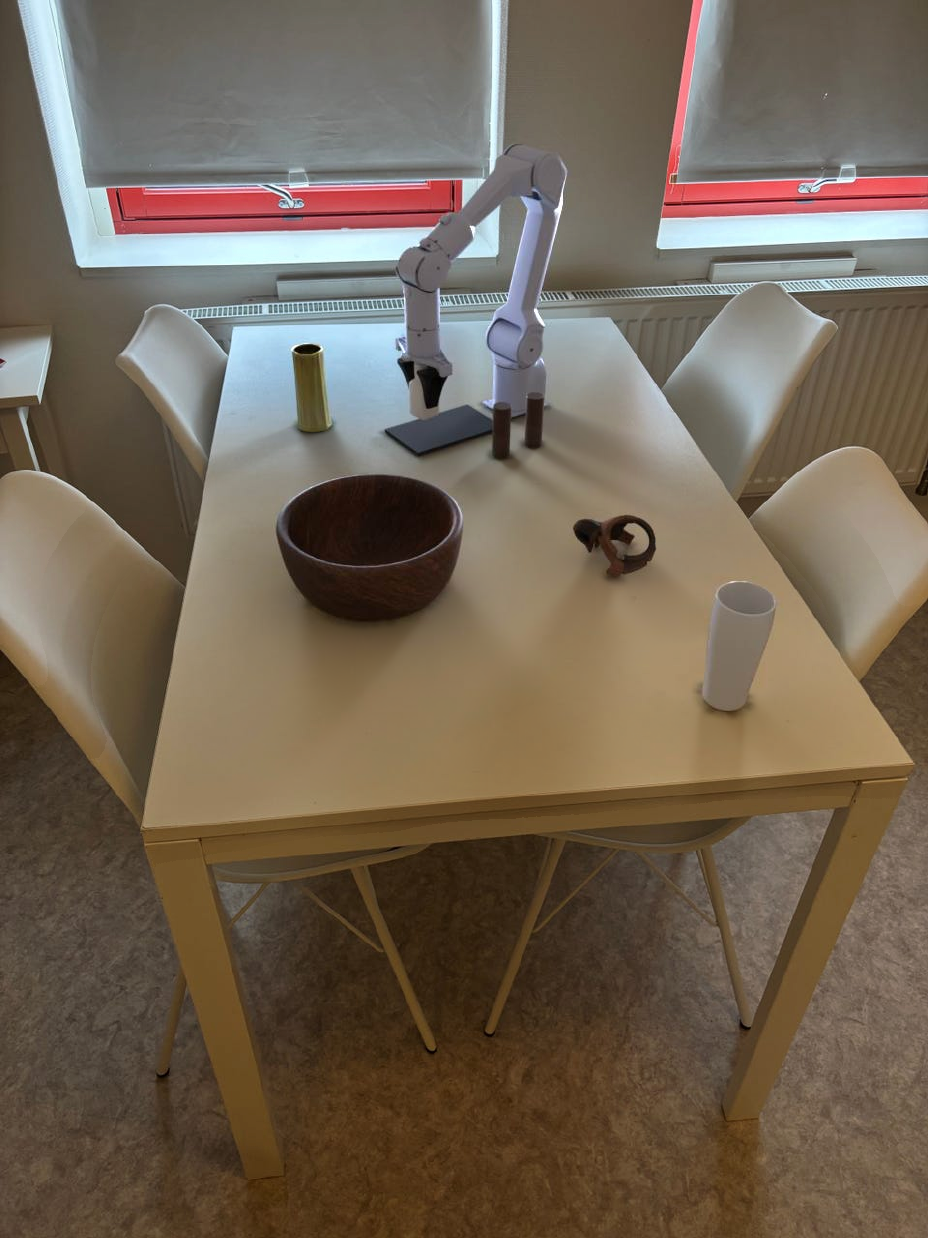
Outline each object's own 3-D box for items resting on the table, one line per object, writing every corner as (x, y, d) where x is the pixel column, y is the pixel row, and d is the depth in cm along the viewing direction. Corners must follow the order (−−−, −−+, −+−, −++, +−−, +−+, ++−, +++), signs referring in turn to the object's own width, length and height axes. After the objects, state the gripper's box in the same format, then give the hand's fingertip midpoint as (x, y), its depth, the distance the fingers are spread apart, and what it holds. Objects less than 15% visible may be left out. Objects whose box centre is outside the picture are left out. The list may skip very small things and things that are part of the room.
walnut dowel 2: (534, 438, 169) (536, 390, 164) (545, 444, 167) (548, 396, 162) (520, 442, 168) (523, 394, 162) (531, 449, 166) (533, 400, 160)
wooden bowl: (264, 554, 140) (255, 492, 133) (424, 519, 148) (423, 459, 141) (312, 655, 121) (304, 588, 115) (492, 608, 129) (494, 544, 123)
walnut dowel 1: (502, 448, 166) (504, 400, 161) (513, 455, 164) (514, 406, 159) (488, 453, 165) (489, 404, 159) (498, 460, 163) (500, 411, 157)
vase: (334, 418, 175) (328, 342, 166) (327, 433, 170) (320, 356, 162) (301, 416, 176) (293, 341, 167) (293, 431, 171) (285, 354, 162)
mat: (467, 407, 179) (467, 404, 179) (502, 429, 172) (502, 426, 172) (384, 432, 171) (384, 428, 171) (418, 456, 164) (418, 453, 163)
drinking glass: (688, 681, 118) (707, 581, 109) (742, 678, 118) (765, 578, 109) (703, 719, 112) (725, 617, 103) (760, 716, 113) (786, 614, 104)
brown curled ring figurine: (649, 545, 143) (667, 518, 135) (635, 599, 139) (653, 575, 131) (573, 519, 143) (587, 491, 135) (556, 572, 139) (570, 547, 131)
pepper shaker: (422, 422, 165) (421, 369, 159) (408, 414, 167) (406, 362, 161) (440, 415, 167) (440, 363, 161) (426, 408, 169) (425, 356, 164)
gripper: (378, 316, 160) (382, 392, 169) (426, 343, 151) (427, 423, 159) (414, 308, 163) (416, 383, 172) (463, 334, 154) (462, 412, 162)
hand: (424, 402), depth 166 cm, fingers closed on pepper shaker, 4 cm apart
